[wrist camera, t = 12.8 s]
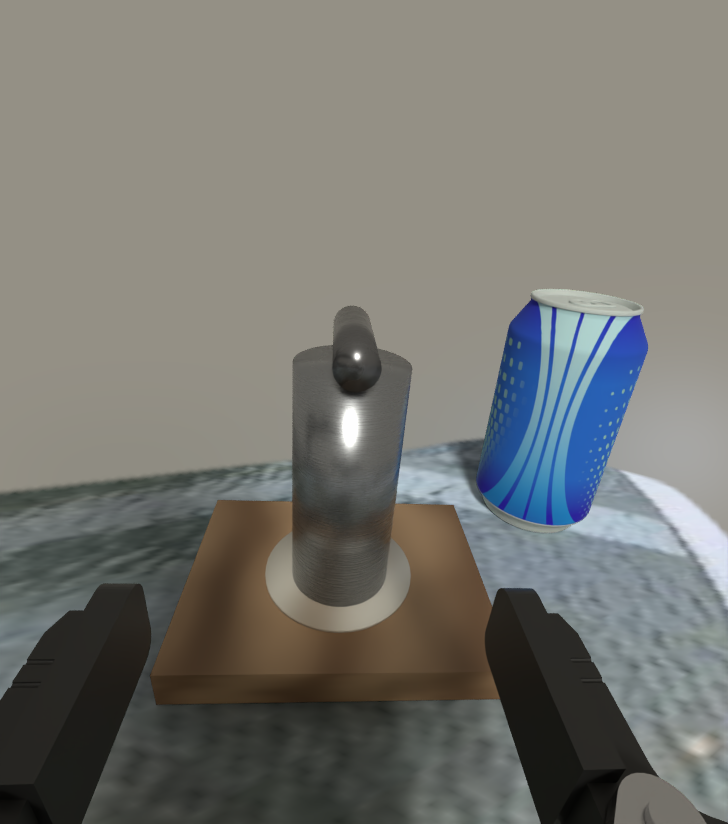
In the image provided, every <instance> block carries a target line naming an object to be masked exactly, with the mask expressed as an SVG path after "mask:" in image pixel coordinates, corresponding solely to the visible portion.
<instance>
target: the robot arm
mask: <svg viewBox="0 0 728 824" xmlns="http://www.w3.org/2000/svg"><path fill="white" fill-rule="evenodd" d="M150 643H151V627H150V622H149V617H148V612H147V607H146V602H145V597H144V592H143V588H142V586H141V585H140V584H102V585H100V586H99V587H98V588H97V589H96V591H95V592H94V594H93V596H92V597H91V599H90V601H89V603H88V604H87V606H86V608H85V609H84V611H69V612H67V613H66V614H65V615H64V616H63V617H62V618H61V619H59V620H58V621H57V622H56V623H55V624H54V625H53V626H52V627H50V628H49V629H48V630H47V631H46V632H45V633H44V634H43V636H42V637H41V639H40V640H39V642H38V643H37V645H36V647H35V648H34V650H33V651H32V653H31V654H30V656H29V657H28V659H27V663H26V665H23V666H22V668H21V670H20V671H19V673H18V674H17V676H16V677H15V679H14V680H13V682H12V686H11V688H8V689H7V691H6V693H5V694H4V696H3V697H2V699H1V700H0V824H82V821H83V819H84V816H85V814H86V811H87V809H88V806H89V804H90V801H91V799H92V796H93V794H94V791H95V789H96V786H97V784H98V781H99V779H100V776H101V773H102V771H103V768H104V766H105V763H106V761H107V758H108V756H109V753H110V751H111V748H112V746H113V743H114V741H115V738H116V736H117V733H118V731H119V728H120V726H121V723H122V721H123V718H124V716H125V713H126V711H127V708H128V706H129V703H130V701H131V698H132V695H133V693H134V690H135V688H136V685H137V683H138V680H139V678H140V675H141V673H142V670H143V668H144V665H145V663H146V660H147V657H148V653H149V649H150ZM485 651H486V657H487V660H488V664H489V667H490V670H491V673H492V676H493V679H494V682H495V685H496V688H497V691H498V694H499V697H500V700H501V703H502V706H503V709H504V712H505V715H506V719H507V722H508V725H509V728H510V731H511V734H512V737H513V740H514V743H515V746H516V749H517V752H518V755H519V758H520V761H521V764H522V767H523V770H524V773H525V777H526V780H527V783H528V786H529V789H530V792H531V795H532V798H533V801H534V804H535V807H536V810H537V813H538V816H539V819H540V822H541V824H728V823H727V822H724V821H721V820H719V819H716V818H713V817H710V816H708V815H706V814H703V813H701V812H700V811H698V810H697V809H696V808H695V806H694V805H693V804H692V803H691V802H690V801H689V800H688V799H687V798H686V797H685V796H684V795H683V794H682V793H681V792H680V791H679V790H677V789H676V788H675V787H674V786H672V785H671V784H669V783H668V782H666V781H664V780H663V779H661V778H659V776H658V775H657V774H656V772H655V771H654V770H653V768H652V767H651V765H650V763H649V762H648V760H647V758H646V756H645V755H644V753H643V751H642V749H641V747H640V746H639V744H638V742H637V740H636V738H635V736H634V735H633V733H632V731H631V729H630V727H629V726H628V724H627V722H626V720H625V718H624V717H623V715H622V713H621V711H620V709H619V707H618V706H617V704H616V702H615V700H614V698H613V697H612V695H611V693H610V691H609V689H608V687H607V686H606V684H605V683H603V682H602V677H601V675H600V673H599V671H598V669H597V668H596V666H595V664H594V662H592V661H591V657H590V655H589V653H588V651H587V649H586V648H585V646H584V644H583V642H582V640H581V639H580V637H579V635H578V633H577V632H576V631H575V630H574V629H573V628H572V627H571V626H570V625H569V624H568V623H567V622H566V621H565V620H564V619H563V618H562V617H561V616H560V615H559V614H555V613H547V611H546V609H545V608H544V606H543V604H542V602H541V600H540V598H539V596H538V594H537V593H536V591H535V590H533V589H530V588H500V589H499V590H498V591H497V594H496V597H495V600H494V604H493V607H492V610H491V614H490V617H489V620H488V624H487V627H486V631H485Z"/></svg>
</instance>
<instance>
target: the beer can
mask: <svg viewBox="0 0 728 824" xmlns="http://www.w3.org/2000/svg"><path fill="white" fill-rule="evenodd" d="M643 311H644V308H643V307H642V306H641V305H639V304H637V303H635V302H632V301H629V300H625V299H622V298H618V297H613V296H608V295H603V294H597V293H591V292H584V291H575V290H563V289H540V290H535V291H533V292H532V293H531V301H530V302H529V303H528V304H527V305H526V306H525V307H524V308H523V309H522V311H521V312H520V313H519V314H518V315H517V316H516V317H515V318H514V319H513V320H512V322H511V323H510V325H509V329H508V334H507V338H506V343H505V348H504V352H503V357H502V361H501V366H500V371H499V375H498V380H497V385H496V389H495V393H494V398H493V403H492V407H491V412H490V416H489V421H488V426H487V430H486V435H485V439H484V444H483V449H482V453H481V458H480V462H479V467H478V472H477V477H476V483H477V487H478V489H479V491H480V493H481V494H482V496H483V499H484V502H485V503H486V505H487V507H488V508H489V509H490V510H491V511H492V512H493V513H494V514H495V515H496V516H497V517H499V518H500V519H502V520H503V521H505V522H507V523H509V524H511V525H513V526H515V527H518V528H521V529H524V530H527V531H532V532H538V533H555V532H559V531H562V530H565V529H567V528H568V527H570V526H571V525H573V524H576V523H578V522H580V521H582V520H583V519H584V518H585V517H586V516H587V514H588V513H589V510H590V508H591V505H592V502H593V499H594V497H595V494H596V491H597V488H598V486H599V483H600V480H601V477H602V475H603V472H604V469H605V466H606V464H607V461H608V458H609V456H610V453H611V450H612V447H613V445H614V442H615V439H616V436H617V434H618V431H619V428H620V425H621V423H622V420H623V417H624V414H625V412H626V409H627V406H628V403H629V401H630V398H631V395H632V392H633V390H634V387H635V384H636V381H637V379H638V376H639V373H640V370H641V368H642V365H643V362H644V360H645V356H646V354H647V351H648V343H647V340H646V336H645V333H644V329H643V326H642V322H641V319H640V315H641V314H642V313H643Z"/></svg>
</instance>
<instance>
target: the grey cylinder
mask: <svg viewBox="0 0 728 824" xmlns="http://www.w3.org/2000/svg"><path fill="white" fill-rule="evenodd" d="M411 374H412V366H411V364H410V363H409V362H408V361H407V360H406V359H404V358H402V357H401V356H399V355H396V354H394V353H391V352H388V351H385V350H381V349H377V346H376V342H375V338H374V334H373V330H372V327H371V323H370V319H369V316H368V314H367V313H366V312H365V311H364V310H363V309H362V308H360V307H357V306H347V307H344V308H342V309H341V310H340V311H339V312H338V313H337V315H336V316H335V319H334V331H333V345H330V346H321V347H315V348H311V349H307V350H305V351H302V352H300V353H299V354H297V355H296V356H295V357H294V359H293V447H292V448H293V451H292V452H293V453H292V454H293V455H292V574H293V579H294V582H295V584H296V586H297V587H298V589H299V590H300V591H301V592H302V593H303V594H304V595H305V596H307V597H308V598H309V599H311V600H313V601H315V602H317V603H320V604H323V605H326V606H332V607H348V606H354V605H357V604H361V603H363V602H365V601H367V600H369V599H371V598H372V597H373V596H375V595H376V594H377V593H378V592H379V591H380V589H381V588H382V586H383V584H384V582H385V579H386V572H387V564H388V556H389V549H390V541H391V533H392V525H393V517H394V509H395V501H396V493H397V485H398V477H399V469H400V461H401V453H402V446H403V437H404V430H405V421H406V414H407V406H408V398H409V390H410V382H411Z"/></svg>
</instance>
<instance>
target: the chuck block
mask: <svg viewBox="0 0 728 824" xmlns="http://www.w3.org/2000/svg"><path fill="white" fill-rule="evenodd" d="M491 610H492V605H491V602H490V600H489V597H488V595H487V592H486V589H485V587H484V584H483V581H482V579H481V576H480V574H479V571H478V568H477V566H476V563H475V560H474V558H473V555H472V553H471V550H470V547H469V545H468V542H467V539H466V537H465V534H464V532H463V529H462V526H461V524H460V521H459V518H458V516H457V513H456V511H455V508H454V505H428V504H395V509H394V517H393V525H392V533H391V541H390V549H389V556H388V564H387V572H386V579H385V582H384V584H383V586H382V588H381V589H380V591H379V592H378V593H377V594H376V595H375V596H373V597H372V598H371V599H369V600H367V601H365V602H363V603H361V604H357V605H354V606H348V607H332V606H326V605H323V604H320V603H317V602H315V601H313V600H311V599H309V598H308V597H307V596H305V595H304V594H303V593H302V592H301V591H300V590H299V589H298V587H297V586H296V584H295V582H294V579H293V574H292V502H284V501H236V500H218V501H217V504H216V506H215V509H214V511H213V514H212V517H211V519H210V522H209V524H208V527H207V529H206V532H205V535H204V537H203V540H202V542H201V545H200V548H199V550H198V553H197V555H196V558H195V561H194V563H193V566H192V568H191V571H190V573H189V576H188V579H187V581H186V584H185V586H184V589H183V592H182V594H181V597H180V599H179V602H178V604H177V607H176V610H175V612H174V615H173V617H172V620H171V623H170V625H169V628H168V630H167V633H166V635H165V638H164V641H163V643H162V646H161V648H160V651H159V654H158V656H157V659H156V661H155V664H154V667H153V669H152V672H151V674H150V678H151V683H152V687H153V692H154V696H155V701H156V705H161V704H222V703H284V702H345V701H407V700H468V699H500V697H499V694H498V691H497V688H496V685H495V682H494V679H493V676H492V673H491V670H490V667H489V664H488V660H487V657H486V651H485V631H486V627H487V624H488V620H489V617H490V614H491Z"/></svg>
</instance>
